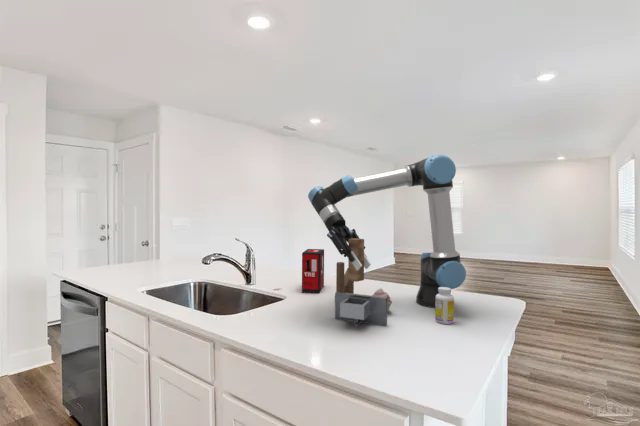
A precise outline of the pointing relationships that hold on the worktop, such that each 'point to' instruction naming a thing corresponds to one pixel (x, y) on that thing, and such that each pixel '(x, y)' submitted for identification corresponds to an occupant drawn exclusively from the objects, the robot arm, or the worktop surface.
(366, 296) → the cup bracket
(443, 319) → the supplement bottle
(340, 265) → the brown wooden piece
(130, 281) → the worktop surface
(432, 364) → the worktop surface
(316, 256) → the cleaning product box
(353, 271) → the post
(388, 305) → the cupcake
